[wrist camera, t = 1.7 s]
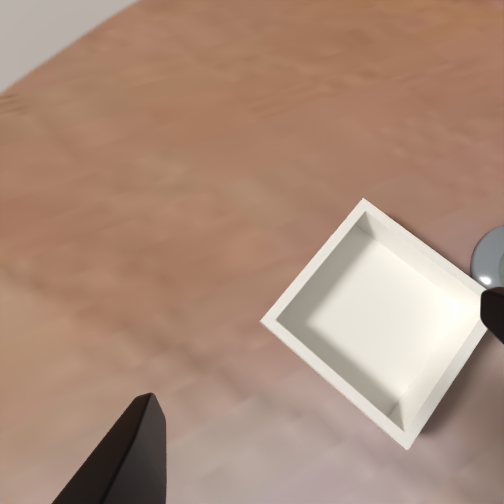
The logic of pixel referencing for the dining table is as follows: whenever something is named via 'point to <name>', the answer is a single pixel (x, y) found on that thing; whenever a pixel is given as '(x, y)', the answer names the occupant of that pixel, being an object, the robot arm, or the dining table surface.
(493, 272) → the slate coaster
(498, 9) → the dining table surface
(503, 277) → the pebble cup
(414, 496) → the dining table surface
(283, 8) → the dining table surface
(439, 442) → the dining table surface
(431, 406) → the stoneware dish
